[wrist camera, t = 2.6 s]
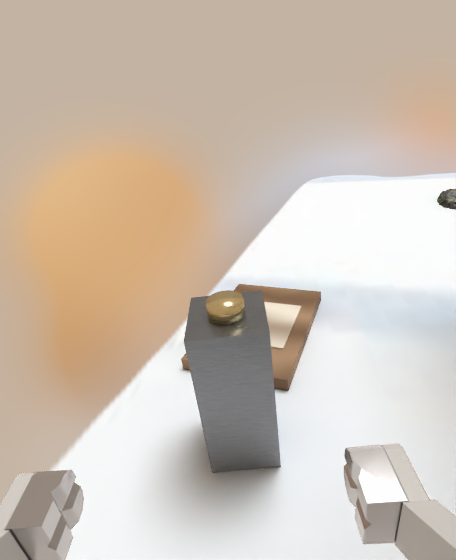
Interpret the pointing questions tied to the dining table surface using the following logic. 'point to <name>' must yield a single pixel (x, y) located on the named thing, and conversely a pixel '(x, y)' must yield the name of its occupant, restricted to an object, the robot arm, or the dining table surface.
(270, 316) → the walnut board
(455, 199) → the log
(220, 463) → the block
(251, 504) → the dining table surface
